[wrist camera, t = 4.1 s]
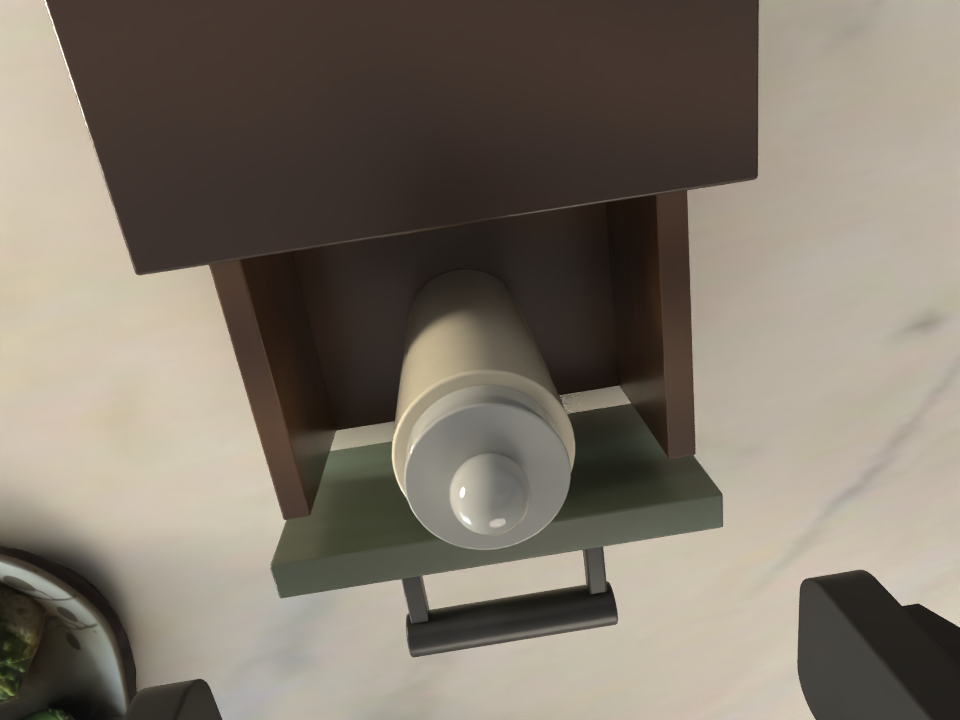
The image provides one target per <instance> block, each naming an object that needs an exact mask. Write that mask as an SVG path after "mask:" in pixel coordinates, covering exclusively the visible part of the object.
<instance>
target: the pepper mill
mask: <svg viewBox="0 0 960 720" xmlns="http://www.w3.org/2000/svg"><path fill="white" fill-rule="evenodd" d="M574 459H575V437H574V431H573V428H572V424H571V421H570V419H569V417H568V415H567V412H566V410H565V408H564V405H563V403H562V401H561V399H560V396H559V394H558V392H557V389H556V387H555V385H554V383H553V380H552V378H551V376H550V374H549V371H548V369H547V367H546V364H545V362H544V360H543V358H542V355H541V353H540V351H539V349H538V346H537V344H536V342H535V339H534V337H533V335H532V333H531V330H530V328H529V326H528V324H527V321H526V319H525V317H524V314H523V312H522V310H521V308H520V305H519V303H518V301H517V299H516V297H515V296H514V294H513V293H512V291H511V290H510V289H509V288H508V287H507V286H506V285H505V284H504V283H503V282H502V281H500V280H499V279H497V278H496V277H494V276H492V275H490V274H488V273H485V272H482V271H477V270H469V269H462V270H454V271H450V272H447V273H444V274H441V275H439V276H437V277H435V278H434V279H432V280H431V281H429V282H428V283H427V284H426V285H425V286H423V288H422V289H421V290H420V291H419V292H418V294H417V295H416V297H415V298H414V300H413V302H412V304H411V307H410V310H409V313H408V319H407V327H406V335H405V343H404V351H403V360H402V368H401V376H400V384H399V393H398V401H397V409H396V417H395V425H394V434H393V442H392V465H393V470H394V474H395V478H396V480H397V482H398V485H399V487H400V489H401V490H402V492H403V494H404V495H405V497H406V498H407V501H408V503H409V505H410V508H411V510H412V511H413V513H414V515H415V516H416V518H417V519H418V520H419V521H420V522H421V524H422V525H423V526H424V527H425V528H426V529H427V530H429V531H430V532H431V533H432V534H434V535H435V536H437V537H438V538H440V539H442V540H444V541H446V542H448V543H450V544H453V545H455V546H459V547H463V548H468V549H475V550H493V549H500V548H505V547H509V546H512V545H516V544H518V543H521V542H523V541H525V540H527V539H529V538H531V537H532V536H534V535H536V534H537V533H539V532H540V531H541V530H543V529H544V528H545V527H546V526H547V525H548V524H549V523H550V522H551V521H552V520H553V519H554V517H555V516H556V515H557V514H558V512H559V510H560V509H561V507H562V505H563V503H564V501H565V499H566V497H567V493H568V490H569V486H570V479H571V472H572V468H573V465H574Z"/></svg>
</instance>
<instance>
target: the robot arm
mask: <svg viewBox="0 0 960 720" xmlns="http://www.w3.org/2000/svg"><path fill="white" fill-rule="evenodd" d="M797 664H798V674H799V680H800V684H801V687H802V690H803V694H804V696H805V699H806V701H807V704H808V706H809V708H810V710H811V712H812V714H813V716H814V717H815V719H816V720H960V627H958V626H956V625H955V624H953V623H951V622H949V621H948V620H946V619H944V618H942V617H941V616H939V615H937V614H936V613H934V612H932V611H930V610H929V609H927V608H925V607H924V606H922V605H920V604H913V605H907V606H901V605H900V604H899V603H898V602H897V600H896V599H895V598H894V597H893V596H892V595H891V594H890V593H889V592H888V591H887V590H886V589H885V588H884V587H883V586H882V585H881V584H880V583H879V581H878V580H877V579H876V578H875V577H873V576H872V575H871V574H870V573H868V572H867V571H864V570H855V571H849V572H843V573H837V574H832V575H826V576H820V577H814V578H808V579H805V580H804V581H803V582H802V584H801V587H800V598H799V630H798V661H797ZM122 720H222V718H221V715H220V713H219V710H218V707H217V705H216V702H215V700H214V697H213V694H212V692H211V689H210V687H209V685H208V684H207V682H205V681H204V680H202V679H196V680H190V681H184V682H178V683H172V684H166V685H160V686H154V687H148V688H144V689H142V690H140V691H139V692H138V693H137V694H136V695H135V696H134V698H133V700H132V701H131V703H130V705H129V707H128V709H127V711H126V713H125V715H124V717H123V719H122Z"/></svg>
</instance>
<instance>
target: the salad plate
mask: <svg viewBox="0 0 960 720" xmlns="http://www.w3.org/2000/svg"><path fill="white" fill-rule="evenodd" d="M136 694H137V693H136V668H135V664H134V660H133V655H132V651H131V647H130V644H129V641H128V638H127V635H126V633H125V631H124V629H123V627H122V625H121V623H120V620H119V618H118V616H117V615H116V613H115V612H114V610H113V609H112V608H111V607H110V605H109V604H108V603H107V601H106V600H105V599H104V598H103V596H102V595H101V594H100V593H99V591H98V590H97V589H96V588H95V587H94V586H93V585H92V584H91V583H90V582H88V581H87V580H86V579H84V578H83V577H81V576H80V575H78V574H77V573H75V572H74V571H72V570H70V569H68V568H66V567H64V566H61V565H59V564H57V563H54V562H51V561H49V560H46V559H44V558H42V557H40V556H37V555H34V554H31V553H28V552H26V551H22V550H18V549H14V548H9V547H4V546H0V720H122V719H123V717H124V715H125V713H126V711H127V709H128V707H129V705H130V703H131V701H132V700H133V698H134V696H135V695H136Z"/></svg>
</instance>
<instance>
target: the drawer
mask: <svg viewBox="0 0 960 720" xmlns="http://www.w3.org/2000/svg"><path fill="white" fill-rule="evenodd" d="M209 266H210V269H211V273H212V276H213V280H214V283H215V287H216V290H217V293H218V297H219V300H220V304H221V307H222V310H223V314H224V317H225V321H226V324H227V328H228V331H229V334H230V338H231V341H232V345H233V348H234V351H235V355H236V358H237V362H238V365H239V369H240V372H241V375H242V379H243V382H244V386H245V389H246V392H247V396H248V399H249V403H250V406H251V410H252V413H253V416H254V420H255V423H256V427H257V430H258V434H259V437H260V440H261V444H262V447H263V451H264V454H265V457H266V461H267V464H268V468H269V471H270V475H271V478H272V481H273V485H274V488H275V492H276V495H277V498H278V502H279V505H280V509H281V512H282V516H283V519H284V520H286V523H285V526H284V529H283V532H282V534H281V537H280V540H279V543H278V546H277V548H276V551H275V554H274V557H273V560H272V562H271V565H270V568H271V572H272V575H273V578H274V581H275V584H276V588H277V591H278V594H279V597H280V598H286V597H292V596H298V595H304V594H311V593H317V592H323V591H329V590H335V589H342V588H348V587H354V586H360V585H367V584H373V583H379V582H385V581H391V580H398V579H401V580H402V584H403V588H404V593H405V597H406V602H407V606H408V610H409V614H407V618H406V633H407V642H408V647H409V652H410V654H411V656H412V657H419V656H425V655H431V654H438V653H444V652H450V651H456V650H462V649H468V648H474V647H481V646H487V645H493V644H499V643H505V642H511V641H518V640H524V639H530V638H536V637H542V636H548V635H555V634H561V633H567V632H573V631H579V630H585V629H591V628H598V627H604V626H610V625H616V624H617V622H618V614H617V607H616V602H615V598H614V594H613V590H612V587H611V585H610V583H609V582H607V581H606V573H605V563H604V552H603V546H609V545H615V544H621V543H627V542H633V541H640V540H646V539H652V538H658V537H664V536H671V535H677V534H683V533H689V532H695V531H702V530H708V529H714V528H720V527H723V497H722V493H721V491H720V490H719V489H718V487H717V486H716V485H715V483H714V482H713V481H712V479H711V478H710V477H709V475H708V474H707V473H706V471H705V470H704V469H703V467H702V466H701V465H700V464H699V462H698V461H697V460H696V458H695V457H694V456H693V455H695V424H694V393H693V362H692V331H691V299H690V268H689V237H688V206H687V190H685V191H679V192H673V193H666V194H660V195H653V196H647V197H640V198H634V199H628V200H621V201H615V202H608V203H602V204H595V205H589V206H583V207H576V208H570V209H563V210H557V211H550V212H544V213H538V214H531V215H525V216H518V217H512V218H505V219H499V220H493V221H486V222H480V223H473V224H467V225H460V226H454V227H448V228H441V229H435V230H428V231H422V232H415V233H409V234H403V235H396V236H390V237H383V238H377V239H370V240H364V241H358V242H351V243H345V244H338V245H332V246H325V247H319V248H313V249H306V250H300V251H293V252H287V253H280V254H274V255H268V256H261V257H255V258H248V259H242V260H235V261H229V262H223V263H216V264H210V265H209ZM462 269H469V270H477V271H482V272H485V273H488V274H490V275H492V276H494V277H496V278H497V279H499V280H500V281H502V282H503V283H504V284H505V285H506V286H507V287H508V288H509V289H510V290H511V291H512V293H513V294H514V296H515V297H516V299H517V301H518V303H519V305H520V308H521V310H522V312H523V314H524V317H525V319H526V321H527V324H528V326H529V328H530V330H531V333H532V335H533V337H534V339H535V342H536V344H537V346H538V349H539V351H540V353H541V355H542V358H543V360H544V362H545V364H546V367H547V369H548V371H549V374H550V376H551V378H552V380H553V383H554V385H555V387H556V389H557V392H558V394H559V395H562V394H568V393H575V392H581V391H587V390H594V389H600V388H606V387H613V386H619V385H620V387H621V388H622V390H623V391H624V393H625V394H626V396H627V397H628V399H629V400H630V402H631V403H632V404H626V405H620V406H614V407H607V408H601V409H595V410H588V411H582V412H576V413H569V414H567V415H568V417H569V419H570V421H571V424H572V428H573V431H574V437H575V459H574V465H573V468H572V472H571V479H570V486H569V490H568V493H567V497H566V499H565V501H564V503H563V505H562V507H561V509H560V510H559V512H558V514H557V515H556V516H555V517H554V519H553V520H552V521H551V522H550V523H549V524H548V525H547V526H546V527H545V528H544V529H543V530H541V531H540V532H539V533H537V534H536V535H534V536H532V537H531V538H529V539H527V540H525V541H523V542H521V543H518V544H516V545H512V546H509V547H505V548H500V549H493V550H475V549H468V548H463V547H459V546H455V545H453V544H450V543H448V542H446V541H444V540H442V539H440V538H438V537H437V536H435V535H434V534H432V533H431V532H430V531H429V530H427V529H426V528H425V527H424V526H423V525H422V524H421V522H420V521H419V520H418V519H417V518H416V516H415V515H414V513H413V511H412V510H411V508H410V505H409V503H408V501H407V498H406V497H405V495H404V494H403V492H402V490H401V489H400V487H399V485H398V482H397V480H396V478H395V474H394V470H393V465H392V442H387V443H381V444H374V445H368V446H362V447H355V448H349V449H343V450H337V451H330V449H331V445H332V442H333V439H334V435H335V432H336V430H341V429H348V428H354V427H360V426H367V425H373V424H379V423H386V422H392V421H395V417H396V409H397V401H398V393H399V384H400V376H401V368H402V360H403V351H404V343H405V335H406V327H407V319H408V313H409V310H410V307H411V304H412V302H413V300H414V298H415V297H416V295H417V294H418V292H419V291H420V290H421V289H422V288H423V286H425V285H426V284H427V283H428V282H429V281H431V280H432V279H434V278H435V277H437V276H439V275H441V274H444V273H447V272H450V271H454V270H462ZM578 550H583V557H584V566H585V575H586V584H587V585H581V586H575V587H569V588H562V589H556V590H550V591H544V592H538V593H532V594H525V595H519V596H513V597H507V598H501V599H494V600H488V601H482V602H476V603H470V604H464V605H457V606H451V607H445V608H439V609H433V610H429V606H428V601H427V596H426V592H425V587H424V582H423V578H422V575H429V574H435V573H441V572H447V571H453V570H460V569H466V568H472V567H478V566H484V565H491V564H497V563H503V562H509V561H515V560H522V559H528V558H534V557H540V556H547V555H553V554H559V553H565V552H571V551H578Z"/></svg>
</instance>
